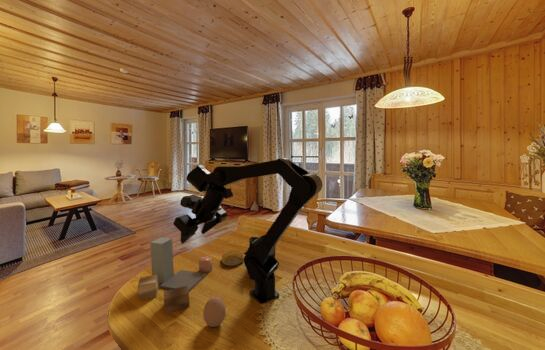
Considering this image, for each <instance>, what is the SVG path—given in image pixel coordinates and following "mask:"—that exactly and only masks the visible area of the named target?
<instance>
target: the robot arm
mask: <svg viewBox="0 0 545 350" xmlns="http://www.w3.org/2000/svg"><path fill="white" fill-rule="evenodd" d="M277 174H278V175H279V176H280V177H281V178H282V179H283V180H284V182H285V183H286V184H287V185H288V186H290V188H291V190H290V192H289V195H288V200H287V203H286V204H285V205H284V206H283V208H282V209H281V211H280V212H279V214H278V216H276V218H275V220H274V221H273V223H272V224H271V226H270V227H269V229H268V230H267V231H266V233H265V234H264V235H265V236H264V237H263V239H262V237H260V236H258V237H259V238H258V239H256V240H255V241H254V242H252V243H251V244H250V243H249V247H248V249H247V250H246V251H245V252H244V253H243V255H244V256H243V257H244V260H243V264H244V266H245V269H246V272H247V274H248V278H249V279H250V281H253V289H252V290H249V295H251V297H253V298H254V299H255V300H256V301H257V302H258V303H259V304H260V305H263V304H264V303H266V302H268V301H271V299H272V300H273V299H276V298H278V297H280V296H279V295H280V292H278V291H277V290H276V277H275V272H276V271H277V269H279V265H280V262H279V261H278V259H277V258H276V256H275V257H274V256H273V253H274V251H275V252H276V246H277V244H278V242H279V241H280V240H281V238H282V237H283V235H284V234H285V233H286V231H287V230H288V228H289V227H290V225H292V223H293V221H294V220H295V219H296V217H297V216H298V214H299V213H300V212H301V210H302V209H303V208H304V207H305V206H306V205H307V204H308V203H309V202H311V200H313V199H314V198H315V197H316V196H317V195H318V194H319V193H320V192H321V191H322V190H323V189H322V188H323V181H322V179H321V177H320V176H319V175H318V174H316V173H310V172H308V170H306V169H305V168H303V167H301V166H300V165H298V164H296V163H294V162H293V161H292V160H290V159H289V158H287V157H282V158H277V159H274V160H269V161H264V162H258V163H253V164H247V165H233V164H232V165H220V166H216V167H214V168H213V171H212V172H210V171H209V170H207V169H206V167H205V166H204V165H202V164H197V165H196V166H195V168H193V169H192V170H190V172H189V173H187V175H186V181H187V182H188V183H189V184H190V185H191V186H192V187H194V188H195V189H196V190H197V191H198V192H200V193H203V192H205V194H204V196H203V197H201V196H199V195H196V194H190V195H185V196H183V197H182V198H181V200H180V206H181V207H182V208H185V209H186V208H187V209H189V210H191V211H190V212H191V213H192V214H193V215H195V217H194V218H192V217H191V216H190V215H189V214H183V215H180V216H177V217H175V219H174V220H173V224H172V225H173V226H174V227H175V228H177V230H178V232H180V243H181V244H182V245H183V244H185V243H186V242H188V241H189V240H190V239H191V238H192V237H193V236H194V235H196V232H197V231H198V230H199V225H202V224H203V225H202V226H203V227H202V228H201V231H200V233H201V234H203V235H205V234H206V233H207V232H208V231H210V230H212V229H213V228H215V227H216V226H217V225H219V224H220V223H222V222H223V221H226V219H227V217H228V214H227V213H228V212H227V211H226V210H225V209H224V208H223V207H222V206H221V205H222V203H223V201H224V199H226V200H227V199H230V198H233V197H234V193H233V192H232V188H227V187H226V186H229V185H234V184H236V183H240V182H242V181H244V180H246V179H251V178H252V179H253V178H257V177H264V176H270V175H277ZM277 296H278V297H277ZM275 297H276V298H275Z"/></svg>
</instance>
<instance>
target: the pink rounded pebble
mask: <svg viewBox="0 0 545 350" xmlns="http://www.w3.org/2000/svg"><path fill="white" fill-rule="evenodd" d="M212 270H213V257H211V256H207V255H206V256H202V257H200V258H199V259H198V272H200V273H206V274H208V273H211V272H212Z"/></svg>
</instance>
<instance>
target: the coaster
mask: <svg viewBox="0 0 545 350" xmlns="http://www.w3.org/2000/svg"><path fill="white" fill-rule="evenodd" d="M206 276H207V273H200V272H199V271H191V270H184V269H180V270H178V271H177V272H176V273H174V275H173V276H172V277H171V278H169V279H168V280H167V281H165V282H164V283H160V285H159V289H160V288H161V289H166V290H171V289H175V288H179V287H183V286H187V288H188V292H189V293H190V291H192V290H193V288H195V287H196V286H197V285H198V284H199V283H200V282H201V281H202V280H203V279H204V278H206Z"/></svg>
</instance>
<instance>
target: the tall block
mask: <svg viewBox="0 0 545 350" xmlns="http://www.w3.org/2000/svg"><path fill="white" fill-rule="evenodd" d="M149 246H150V260H151V262H150V263H151V275H157V278H158V284H163V283H164V282H165V281H167V280H168V279H169V278H171V277H172V276H173V275H174V274H175V273H174V271H175V270H174V254H173V253H174V252H173V251H174V250H173V248H174V247H173V238H170V237H158V238H157V239H154V240H152V241H150V244H149Z"/></svg>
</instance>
